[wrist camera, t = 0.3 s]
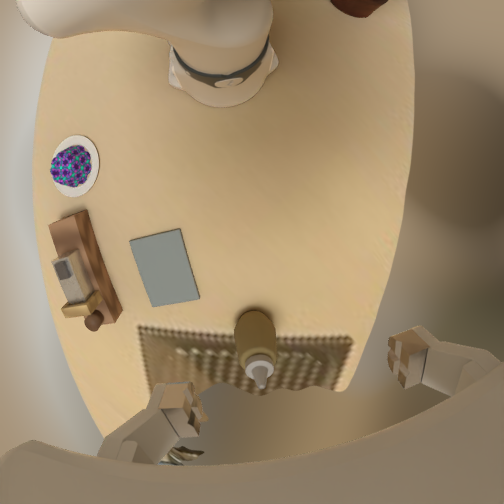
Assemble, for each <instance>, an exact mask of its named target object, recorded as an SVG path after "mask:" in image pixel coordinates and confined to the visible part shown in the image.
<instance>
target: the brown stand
mask: <svg viewBox="0 0 504 504" xmlns="http://www.w3.org/2000/svg"><path fill="white" fill-rule="evenodd" d="M48 226H49V229H50V233H51V236H52V239H53V242H54V245H55V248H56V251H57V254H58V256H60V255H61V254H63V253H67V252H70V251H73V250H77V249H79V251H80V254H81V257H82V259H83V262H84V265H85V268H86V270H87V273H88V275H89V278H90V280H91V283H92V285H93V288H94V290H95V292H94V293H93V294H92V296H91V297H90V298H89V299H88V300H87V301H86V303H80V304H74V305H69V303H68V302H67V303H66V304H65V305H64V306H63V307H62V308H61V310H62V312H63V314H64V316H65V318H71V317H79V316H84V318H85V325H86V327H87V328H88V329H89V330H91V331H97V330H98V329H99V327H100V326H101V325H103V324H111V323H115V322H116V320H117V319H118V317H119V315H120V314H121V312H122V311H123V309H122V307H121V305H120V302H119V300H118V298H117V295H116V293H115V290H114V288H113V285H112V283H111V280H110V278H109V275H108V273H107V270H106V267H105V264H104V262H103V259H102V256H101V253H100V250H99V247H98V244H97V241H96V238H95V235H94V232H93V229H92V225H91V222H90V218H89V215H88V211H87V210H85V211H82V212H79V213H76V214H74V215H71V216H68V217H66V218H63V219H61V220H58V221H56V222H54V223H52V224H50V225H48Z"/></svg>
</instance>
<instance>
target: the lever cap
mask: <svg viewBox="0 0 504 504" xmlns="http://www.w3.org/2000/svg"><path fill="white" fill-rule="evenodd" d="M51 262H52V264H53V267H54V270H55V272H56V275H57V277H58V280H59V282H60V284H61V287H62V289H63V291H64V294H65V296H66V298H67V300H68V303H69V305H74V304H80V303H86V301H87V300H88V299H89V298H90V297H91V296H92V294H93V293H94V292H95V290H94V288H93V285H92V283H91V280H90V278H89V275H88V273H87V270H86V268H85V265H84V262H83V259H82V257H81V254H80V251H79V249H77V250H73V251H70V252H67V253H63V254H61V255H60V256H58V257H57V258H56V259H54V260H53V261H51Z"/></svg>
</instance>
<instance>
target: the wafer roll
mask: <svg viewBox="0 0 504 504" xmlns="http://www.w3.org/2000/svg"><path fill="white" fill-rule="evenodd" d="M331 1H332V3H333V4H334V5H335V6H336V7H337V8H338V9H340V10H341V11H343V12H344V13H346V14H349V15H351V16H354V17H359V18H362V17H365V18H366V17H368V16H369V15H370V14H371V13H372V12H373V11H374V10H376V9H377V8H378V7H380V6H381V5H383V4H385V3H386V2H387V1H388V0H331Z"/></svg>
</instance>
